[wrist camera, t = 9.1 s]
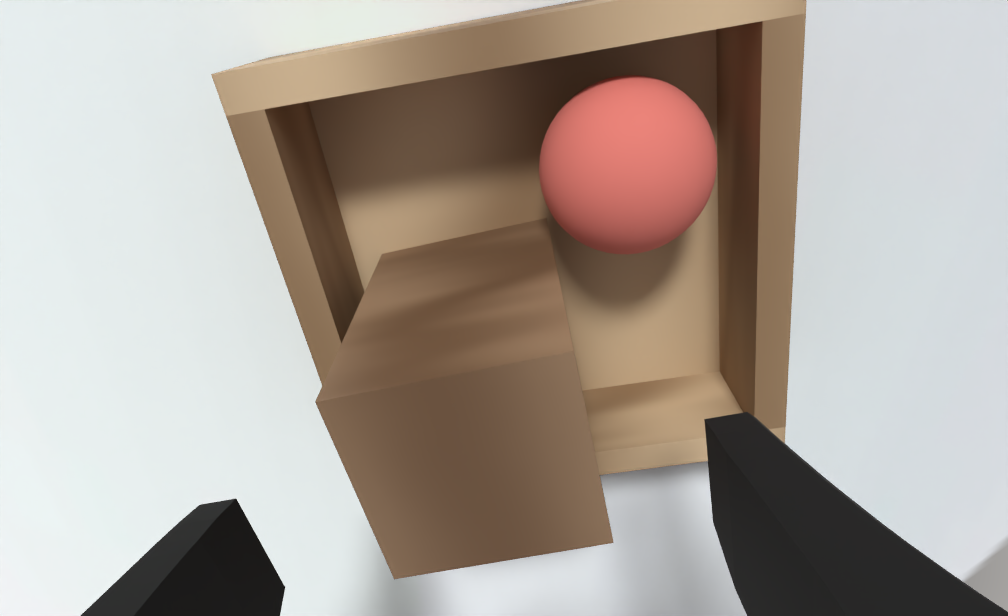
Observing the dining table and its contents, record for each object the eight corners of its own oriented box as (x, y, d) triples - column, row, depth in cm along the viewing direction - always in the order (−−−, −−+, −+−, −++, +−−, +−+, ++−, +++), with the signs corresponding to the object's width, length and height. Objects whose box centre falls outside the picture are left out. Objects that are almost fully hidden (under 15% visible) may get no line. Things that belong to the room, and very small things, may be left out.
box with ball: (743, -30, 13) (808, -35, 10) (739, 379, 17) (783, 450, 14) (269, 57, 13) (211, 74, 11) (385, 428, 18) (364, 505, 15)
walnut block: (546, 217, 14) (573, 351, 9) (576, 360, 16) (613, 542, 11) (381, 253, 15) (315, 401, 10) (428, 389, 17) (394, 579, 11)
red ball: (687, 52, 13) (744, 72, 10) (692, 208, 14) (742, 267, 11) (523, 81, 13) (531, 108, 10) (545, 232, 15) (557, 295, 12)
